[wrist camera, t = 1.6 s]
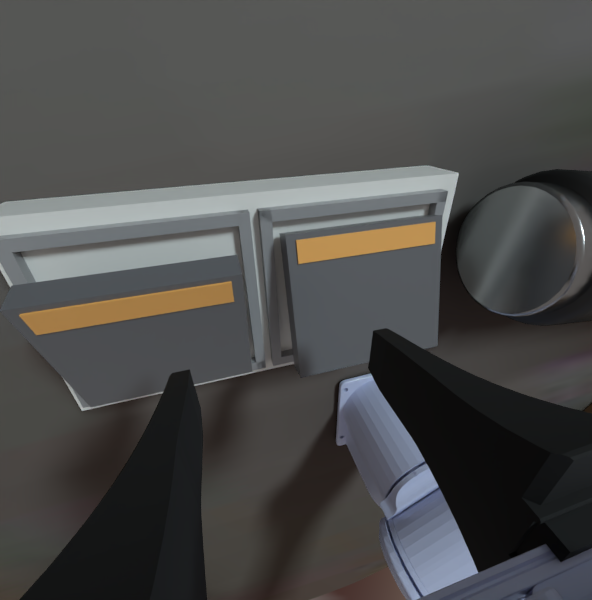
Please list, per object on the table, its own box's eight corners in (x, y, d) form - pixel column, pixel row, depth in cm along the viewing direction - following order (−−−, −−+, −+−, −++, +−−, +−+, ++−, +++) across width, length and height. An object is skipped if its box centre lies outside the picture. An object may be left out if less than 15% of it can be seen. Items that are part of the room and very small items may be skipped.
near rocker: (248, 353, 20) (252, 373, 19) (94, 385, 18) (90, 409, 17) (237, 254, 15) (242, 275, 14) (11, 285, 13) (-2, 313, 12)
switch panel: (400, 314, 27) (429, 343, 24) (93, 376, 22) (77, 424, 19) (427, 165, 21) (471, 176, 18) (5, 201, 16) (-44, 226, 12)
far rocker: (423, 337, 21) (438, 346, 20) (294, 366, 19) (301, 378, 18) (426, 214, 19) (443, 215, 17) (279, 233, 17) (285, 235, 15)
